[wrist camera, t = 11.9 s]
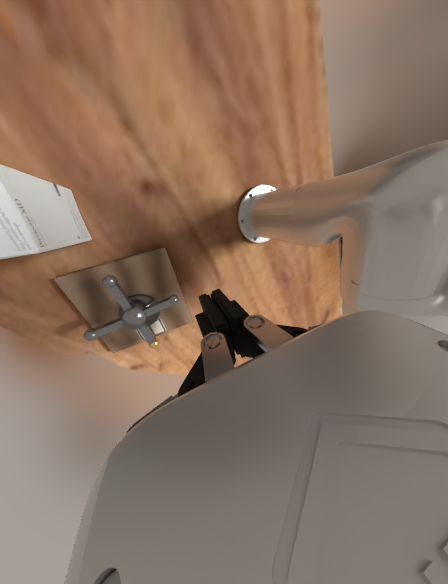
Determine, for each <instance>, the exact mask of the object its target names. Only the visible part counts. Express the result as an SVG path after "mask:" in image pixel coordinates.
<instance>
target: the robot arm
mask: <svg viewBox="0 0 448 584" xmlns="http://www.w3.org/2000/svg"><path fill="white" fill-rule="evenodd" d="M249 195H250V197H249ZM241 220H242V222H241ZM238 224H239V228H240V230H241V233H242V234H243V235H244V237H245V238H247V239H248V240H250V241H252V242H255V243H263V242H266V241H268V240H270V239H273V240H278V241H283V242H288V243H294V244H299V245H304V246H310V247H318V246H323V245H326V244H328V243H330V242H332V241H334V240H336V239H338V238H339V237H341V236H342V237H343V249H342V250H343V256H342V265H341V274H340V293H341V296H342V298H343V299H344V301H345V302H346V303H347V304H348V305H350V306H351V307H353V308H355V309H357V310H359V311H358V312H353V313H349V314H346V315H343V316H340V317H338V318H335V319H333V320H331V321H328V322H326V323H324V324H320V325H316V326H312V327H308V330H307V329H304V328H299V327H291V326H283V325H275V324H274V323H272V322H271V321H269V320H268V319H266V318H265V317H263V316H261V315H251V316H249V314H248V313H247V312H246V311H245V310H244V309H243V308H242V307H241V306H240V305H239V304H238V303H237V302H236V301H235V300H233V301H231V302H230V301H229V299H228V298H227V297H226V296H225V295H224V294H223V293H222V291H221V290H220V289H217V290H214V291H212V293H211V297H210V296H209V295H206V294H203V295H200V296H199V300H200V303H201V306H202V309H203V313H200V314H197V315H195V316H196V319H197V322H198V325H199V327H200V330H201V333H202V335H203V339H202V341H201V351H202V352H201V354H200V356H199V357H198V359H197V361H196V362H195V364H194V365H193V367H192V369H191V370H190V372H189V374H188V375H187V377H186V379H185V380H184V382H183V384H182V385H181V387H180V389H179V391H178V394H176V395H175V396H174V397H173V396H170V397H169V398H167V399H166V400H165V401H163V402H162V403H161V404H159V405H158V406H157V407H155V408H154V409H153V410H151V411H150V412H149V413H147V414H146V415H145V416H143V417H142V418H141V419H139V420H138V421H137V422H135V423H134V424H133V425H132V426H131V427H130V428H129V430H128V431H127V433H126V435H125V436H124V437H123V438H122V439H121V440H120V441H119V442H118V443H117V444H116V446H115V447H114V448H113V449H112V450H111V451H110V453H109V454H108V456H107V457H106V458H105V460H104V461H103V463H102V465H101V467H100V469H99V471H98V473H97V475H96V478H95V480H94V482H93V485H92V488H91V490H90V493H89V496H88V499H87V502H86V506H85V509H84V512H83V515H82V519H81V523H80V526H79V530H78V533H77V537H76V540H75V544H74V548H73V552H72V556H71V560H70V564H69V568H68V572H67V576H66V580H65V583H64V584H448V335H446V334H443V333H441V332H439V331H436V330H434V329H432V328H429V327H427V326H424V325H422V324H419V323H417V322H414V321H412V320H409V319H406V318H404V317H438V316H448V140H446V141H442V142H437V143H433V144H430V145H427V146H424V147H421V148H418V149H415V150H412V151H409V152H406V153H404V154H401V155H399V156H396V157H393V158H391V159H388V160H386V161H383V162H380V163H378V164H375V165H372V166H370V167H366V168H364V169H360V170H358V171H354V172H352V173H348V174H345V175H341V176H337V177H333V178H329V179H324V180H320V181H315V182H311V183H306V184H301V185H297V186H292V187H287V188H283V189H278V190H276V189H275V188H274V187H272V186H269V185H259V186H256V187H254V188H252V189H251V190H249V191H248V192H247V193H246V194H245V196H244V197H243V199H242V201H241V203H240V206H239V210H238ZM211 298H212V299H211ZM234 350H235V352H236V354H237V355H238V354H240V355H241V357H242V358H243V357H245V356H246V357H250V360H249V361H247V362H245V363H243V364H241V365H239V366H237V367H236V368H235V367H234V364H235V362H236V358H235V352H234ZM116 570H117V571H116Z"/></svg>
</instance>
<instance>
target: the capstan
mask: <svg viewBox="0 0 448 584" xmlns="http://www.w3.org/2000/svg"><path fill="white" fill-rule="evenodd" d="M102 284H103V285H104V286H105V287H107V288H108V290H109V291H110V292H111V294H112V295H113V296H114V298H115V299H116V300H117V302H118V303H119V304H120V309H119V317H120V318H117V319H115V320H113V321H110V322H108V323H105V324H103V325H101V326H98V327H96V328H94V329H89V330H87V331H86V332H85V334H84V338H85V339H86V340H88V341H93V340H95V339H97V338H98V337H100V336H103V335H105V334H107V333H110V332H112V331H114V330H117V329H119V328H121V327H123V326H125V327H126V328H128V329H138V330H139V331H140V333H141V334H142V335H143V337H144V338H145V339H146V341H147V342H148V343H149V346H150V347H151V348H157V347H158V346H159V344H160V342H159V340H158V339H157V338H156V337H155V336H154V334H153V333H152V331H151V330H150V328H149V327H148V326H150V325H152V324H153V323H155V322H156V321H157V319H158V317H159V315H160V311H161V310H163V309H165V308H168V307H170V306H172V305H176V304H178V303H179V297H178V296H177V295H175V294H173V295H171V296H170V297H168V298H165V299H163V300H160V301H158V302H157V301H156V300H155V299H154V298H153V297H151V296H148V295H145V294H136V295H132V296H130V297H127V295H126V294H125V292H124V291H123V289H122V288H121V286H120V285H119V283H118V280H117V278H116V277H115V276H113V275H106V276H104V277H103V279H102Z"/></svg>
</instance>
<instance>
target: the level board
mask: <svg viewBox="0 0 448 584" xmlns="http://www.w3.org/2000/svg"><path fill="white" fill-rule="evenodd" d="M106 275H113V276H115V277H116V278H117V280H118V283H119V285H120V286H121V288H122V289H123V291H124V292H125V294H126V295H127V297H130V296H132V295H136V294H145V295H148V296H151V297H153V298H154V299H155V300H156V301H157V302H158V301H160V300H163V299H165V298H168V297H170V296H171V295H173V294H175V295H177V296H178V297H179V303H178V304H176V305H172V306H170V307H168V308H165V309H163V310H161V311H160V315H159V317H158V319H157V321H156V322H155V323H153V324H152V325H150V326H148V327H149V328H150V330H151V331H152V333H153V334H154V336H158V335H160V334H163V333H165V332H168V331H170V330H173V329H175V328H178V327H180V326H183V325H185V324H188V323H190V322H193V320H192V317H191V314H190V312H189V309H188V306H187V304H186V301H185V299H184V296H183V293H182V291H181V288H180V285H179V283H178V280H177V277H176V275H175V272H174V270H173V267H172V264H171V262H170V259H169V256H168V254H167V251H166V249H165V247H162V248H158V249H155V250H151V251H147V252H144V253H140V254H137V255H133V256H129V257H126V258H122V259H119V260H115V261H111V262H108V263H104V264H100V265H97V266H93V267H90V268H86V269H82V270H79V271H75V272H72V273H68V274H64V275H61V276H57V277H56V278H54V281H55V282H56V283H57V284H58V286H59V287H60V288H61V289H62V291H63V292H64V293H65V294H66V296H67V297H68V298H69V299H70V300H71V302H72V303H73V304H74V305H75V307H76V308H77V309H78V310H79V312H80V313H81V314H82V315H83V317H84V318H85V319H86V320H87V322H88V323H89V324H90V325H91V326H92V328H93V329H94V328H96V327H98V326H101V325H103V324H105V323H108V322H110V321H113V320H115V319H117V318H120V317H119V309H120V304H119V303H118V302H117V300H116V299H115V298H114V296H113V295H112V294H111V292H110V291H109V290H108V288H107V287H105V286H104V285H103V284H102V279H103V277H104V276H106ZM100 338H101V339H102V340H103V341H104V343H105V344H106V345H107V346H108V347H109V349H110V350H111V351H112V352H113V353H115V352H118V351H120V350H123V349H125V348H128V347H130V346H133V345H135V344H138V343H140V342H143V341H145V340H146V339H145V338H144V337H143V335H142V334H141V333H140V331H139V330H138V329H128V328H126V327H125V326H123V327H121V328H119V329H117V330H114V331H112V332H110V333H107V334H105V335H103V336H100Z"/></svg>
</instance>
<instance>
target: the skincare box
mask: <svg viewBox="0 0 448 584" xmlns="http://www.w3.org/2000/svg"><path fill="white" fill-rule="evenodd" d="M91 240H92V238H91V236H90V234H89V232H88V230H87V228H86V226H85V224H84V221H83V219H82V217H81V215H80V212H79V210H78V207H77V205H76V202H75V199H74V196H73V194H72V191H71V190H70V189H68V188H65V187H62V186H59V185H56V184H54V183H51V182H48V181H45V180H42V179H40V178H37V177H34V176H31V175H28V174H25V173H23V172H20V171H17V170H15V169H12V168H9V167H6V166H3V165H0V259H6V258H13V257H19V256H25V255H31V254H37V253H42V252H47V251H51V250H55V249H59V248H63V247H67V246H71V245H75V244H79V243H83V242H87V241H91Z"/></svg>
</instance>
